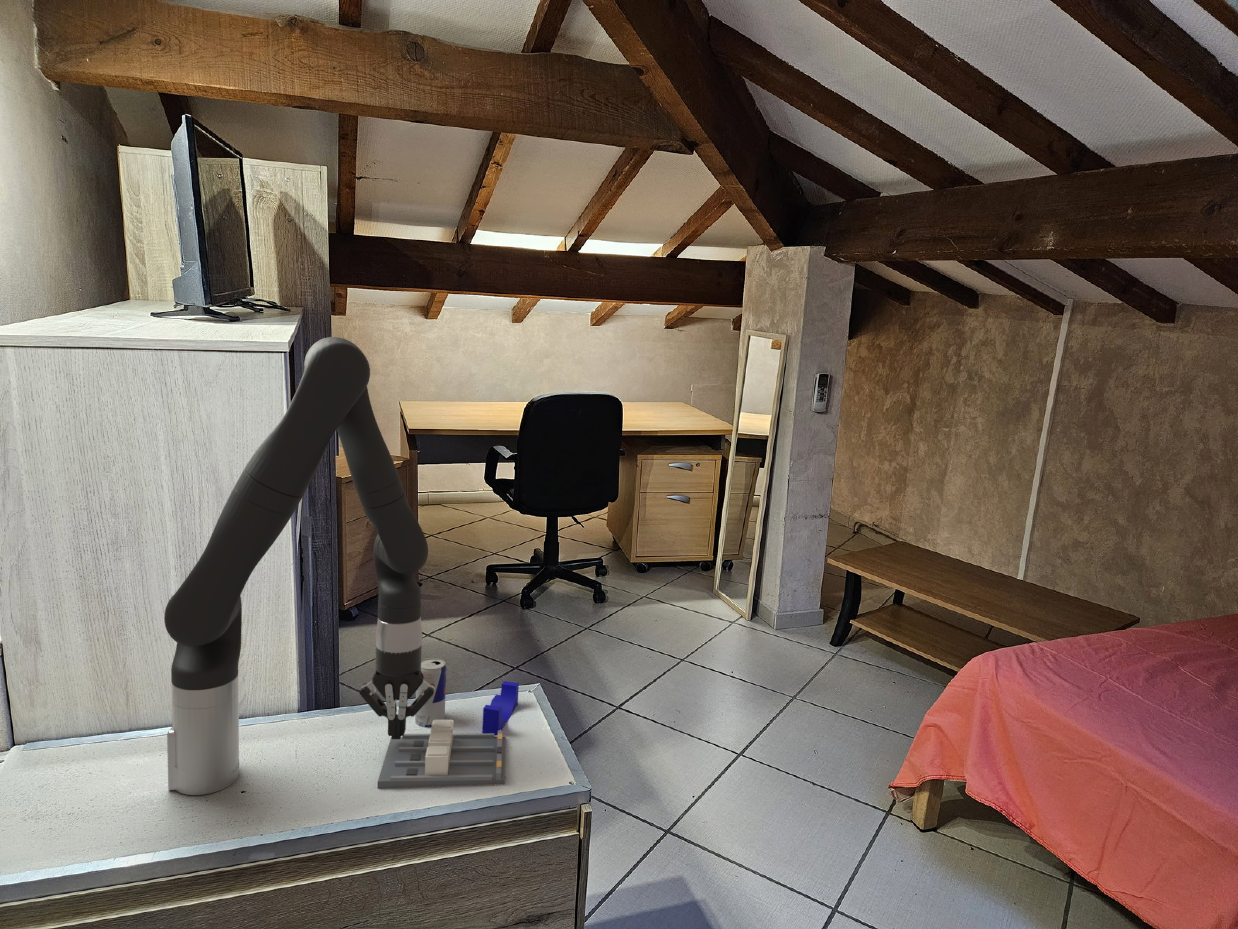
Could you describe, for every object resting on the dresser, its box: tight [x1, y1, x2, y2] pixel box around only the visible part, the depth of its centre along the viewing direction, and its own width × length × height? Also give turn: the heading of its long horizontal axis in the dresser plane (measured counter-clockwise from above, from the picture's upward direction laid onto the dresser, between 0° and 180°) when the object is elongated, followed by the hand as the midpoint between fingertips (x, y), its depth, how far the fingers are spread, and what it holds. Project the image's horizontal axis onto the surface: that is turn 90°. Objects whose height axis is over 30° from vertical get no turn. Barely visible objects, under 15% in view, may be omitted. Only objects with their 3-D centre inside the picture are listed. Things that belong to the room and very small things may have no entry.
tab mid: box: [428, 732, 452, 760], centre depth 131 cm, size 4×3×4 cm
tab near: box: [425, 746, 450, 775], centre depth 127 cm, size 4×3×4 cm
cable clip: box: [481, 680, 520, 736], centre depth 147 cm, size 12×4×6 cm, turn 170°
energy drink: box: [414, 657, 447, 728], centre depth 144 cm, size 5×5×12 cm
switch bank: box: [377, 729, 506, 789], centre depth 132 cm, size 20×14×3 cm
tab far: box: [430, 719, 455, 747], centre depth 136 cm, size 4×3×4 cm
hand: (396, 737), depth 135 cm, fingers closed
